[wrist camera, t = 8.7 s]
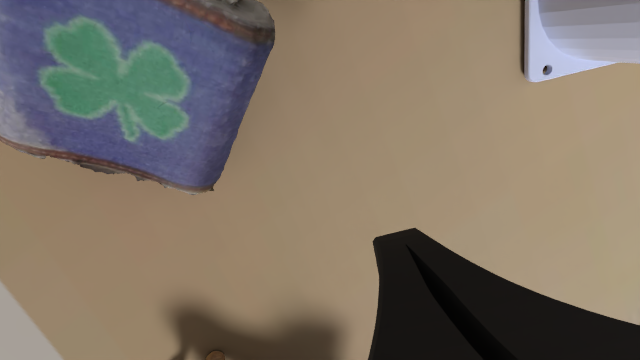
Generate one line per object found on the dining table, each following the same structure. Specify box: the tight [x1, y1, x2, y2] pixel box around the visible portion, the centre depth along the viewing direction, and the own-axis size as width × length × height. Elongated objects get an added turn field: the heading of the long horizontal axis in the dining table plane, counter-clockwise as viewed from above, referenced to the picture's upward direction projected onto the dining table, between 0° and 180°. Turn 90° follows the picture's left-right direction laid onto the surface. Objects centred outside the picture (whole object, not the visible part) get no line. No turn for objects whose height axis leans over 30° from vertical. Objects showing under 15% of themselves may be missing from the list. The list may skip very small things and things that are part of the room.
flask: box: [0, 0, 275, 195], centre depth 13 cm, size 9×3×11 cm
